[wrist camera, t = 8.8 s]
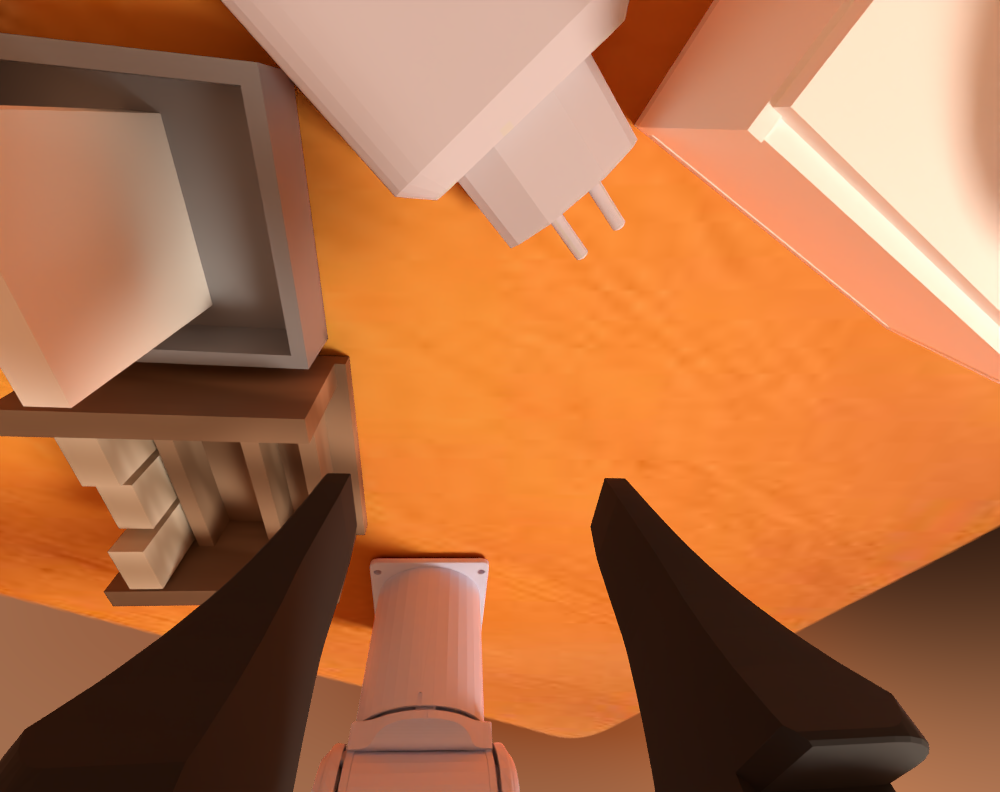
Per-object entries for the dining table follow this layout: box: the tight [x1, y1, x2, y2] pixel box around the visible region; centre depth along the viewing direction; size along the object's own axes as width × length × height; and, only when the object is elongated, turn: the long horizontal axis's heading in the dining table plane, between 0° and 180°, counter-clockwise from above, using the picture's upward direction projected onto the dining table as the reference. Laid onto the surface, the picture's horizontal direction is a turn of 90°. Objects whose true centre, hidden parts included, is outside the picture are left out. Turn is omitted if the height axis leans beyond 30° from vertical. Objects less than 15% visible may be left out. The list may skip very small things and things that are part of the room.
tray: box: [0, 33, 328, 369], centre depth 16 cm, size 10×10×3 cm
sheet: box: [0, 105, 212, 408], centre depth 13 cm, size 7×1×8 cm, turn 175°
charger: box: [221, 0, 637, 260], centre depth 13 cm, size 5×9×15 cm
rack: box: [0, 355, 367, 606], centre depth 21 cm, size 12×12×5 cm
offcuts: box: [54, 437, 195, 589], centre depth 21 cm, size 9×2×4 cm, turn 175°
